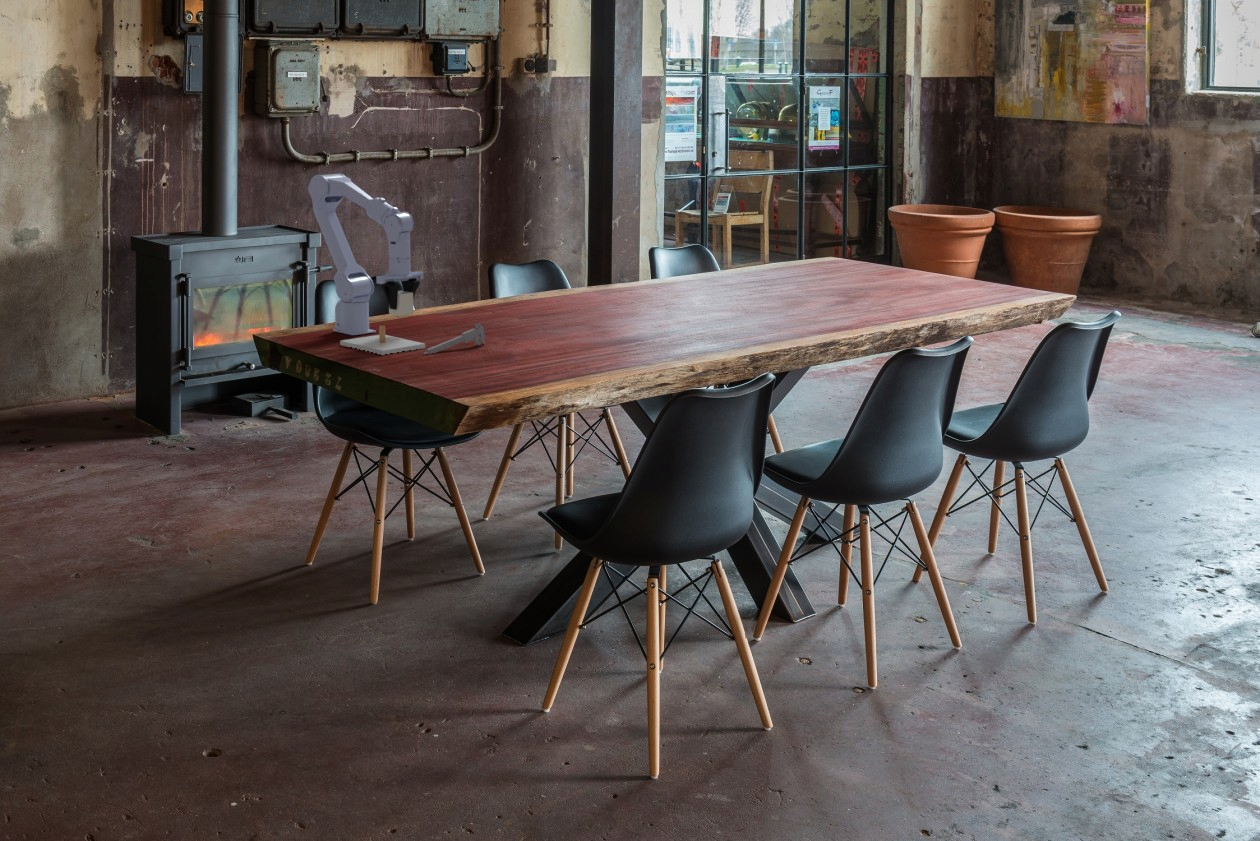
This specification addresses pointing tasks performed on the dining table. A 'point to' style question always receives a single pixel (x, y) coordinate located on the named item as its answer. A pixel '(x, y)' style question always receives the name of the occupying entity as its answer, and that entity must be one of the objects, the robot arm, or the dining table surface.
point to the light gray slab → (382, 343)
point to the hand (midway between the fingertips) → (400, 307)
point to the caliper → (461, 339)
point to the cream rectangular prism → (403, 304)
